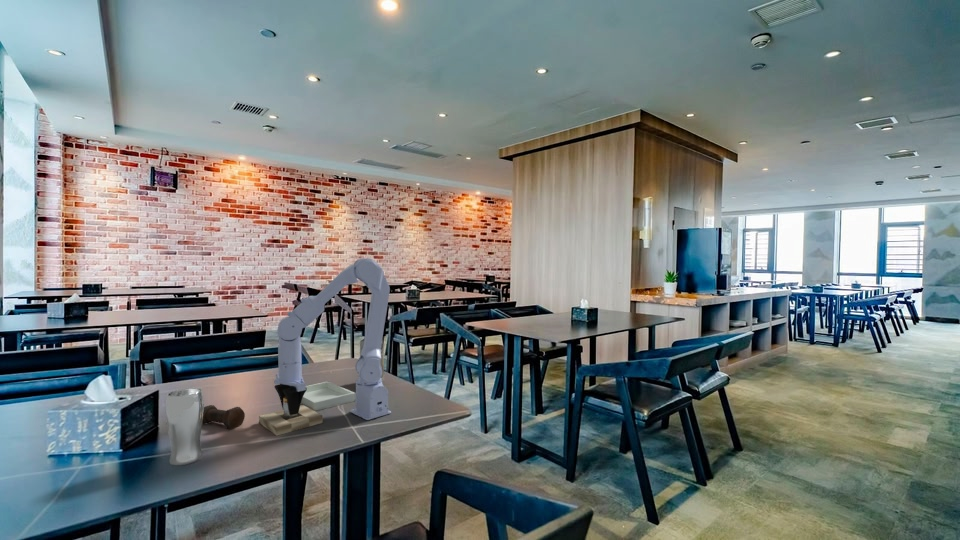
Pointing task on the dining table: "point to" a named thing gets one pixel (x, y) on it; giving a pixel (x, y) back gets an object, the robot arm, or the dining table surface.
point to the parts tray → (326, 396)
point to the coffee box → (381, 355)
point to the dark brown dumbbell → (224, 416)
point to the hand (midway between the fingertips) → (290, 412)
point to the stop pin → (286, 411)
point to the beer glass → (185, 424)
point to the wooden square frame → (290, 420)
